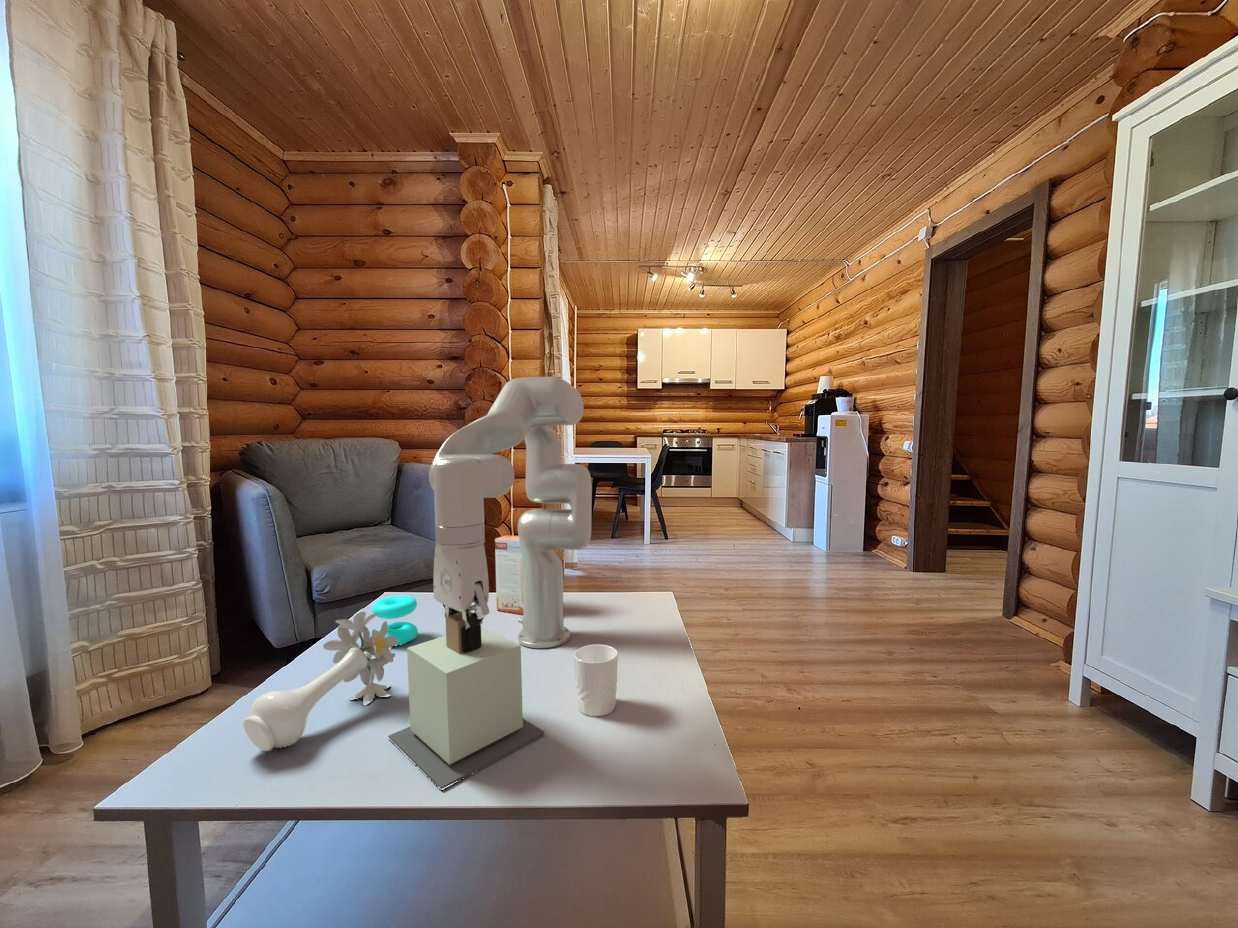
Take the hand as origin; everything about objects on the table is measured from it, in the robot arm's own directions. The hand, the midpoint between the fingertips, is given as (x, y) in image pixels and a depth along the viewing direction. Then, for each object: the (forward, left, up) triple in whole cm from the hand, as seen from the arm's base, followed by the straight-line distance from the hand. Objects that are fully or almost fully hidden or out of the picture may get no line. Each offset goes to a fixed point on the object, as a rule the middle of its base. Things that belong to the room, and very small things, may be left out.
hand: (464, 644), depth 83 cm
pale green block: (0, 0, -14) cm, 14 cm away
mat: (0, 0, -15) cm, 15 cm away
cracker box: (-43, +42, -16) cm, 62 cm away
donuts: (-49, +9, -16) cm, 52 cm away
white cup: (+9, +21, -16) cm, 28 cm away
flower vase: (-23, -13, -16) cm, 31 cm away
